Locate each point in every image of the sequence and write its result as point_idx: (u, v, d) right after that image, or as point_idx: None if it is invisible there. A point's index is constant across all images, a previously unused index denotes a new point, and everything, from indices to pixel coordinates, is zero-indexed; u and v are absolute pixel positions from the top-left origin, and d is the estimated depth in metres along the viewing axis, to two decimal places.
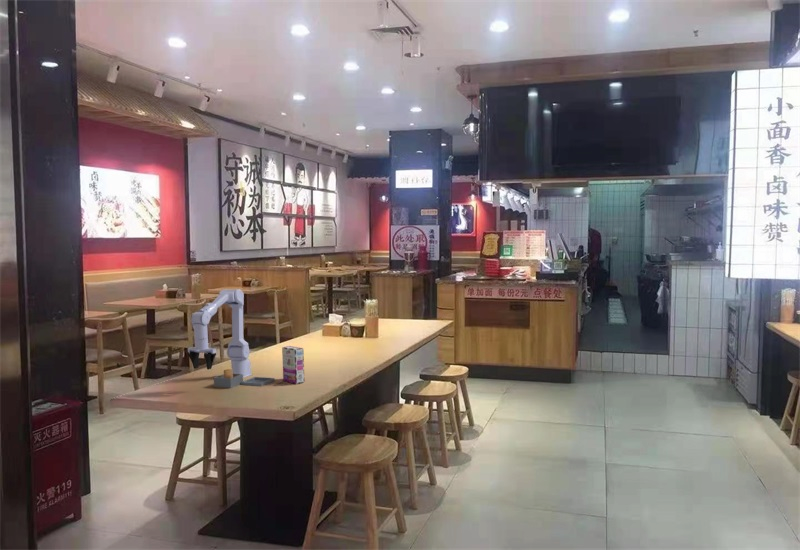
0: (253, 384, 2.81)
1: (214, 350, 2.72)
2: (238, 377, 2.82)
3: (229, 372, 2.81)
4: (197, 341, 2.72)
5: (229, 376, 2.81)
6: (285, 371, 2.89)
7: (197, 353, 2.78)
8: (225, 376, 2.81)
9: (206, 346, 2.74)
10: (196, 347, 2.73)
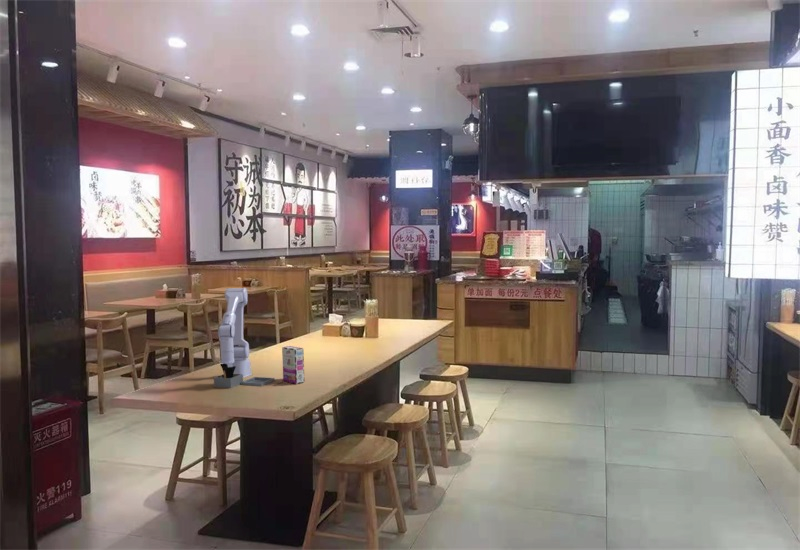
0: (253, 384, 2.81)
1: (230, 364, 2.75)
2: (238, 377, 2.82)
3: None
4: (221, 353, 2.80)
5: None
6: (285, 371, 2.89)
7: None
8: (225, 376, 2.81)
9: (228, 359, 2.79)
10: (221, 358, 2.81)
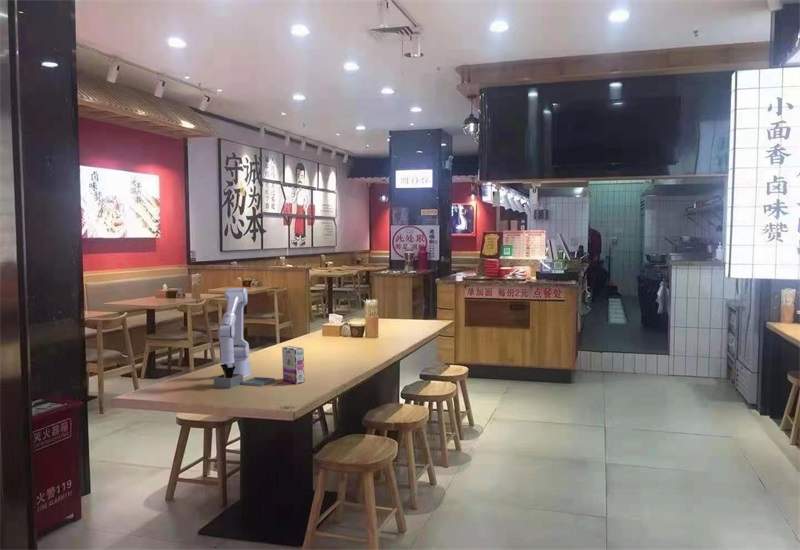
0: (253, 384, 2.81)
1: (230, 364, 2.75)
2: (238, 377, 2.82)
3: None
4: (221, 353, 2.80)
5: None
6: (285, 371, 2.89)
7: None
8: (225, 376, 2.81)
9: (228, 359, 2.79)
10: (221, 359, 2.81)
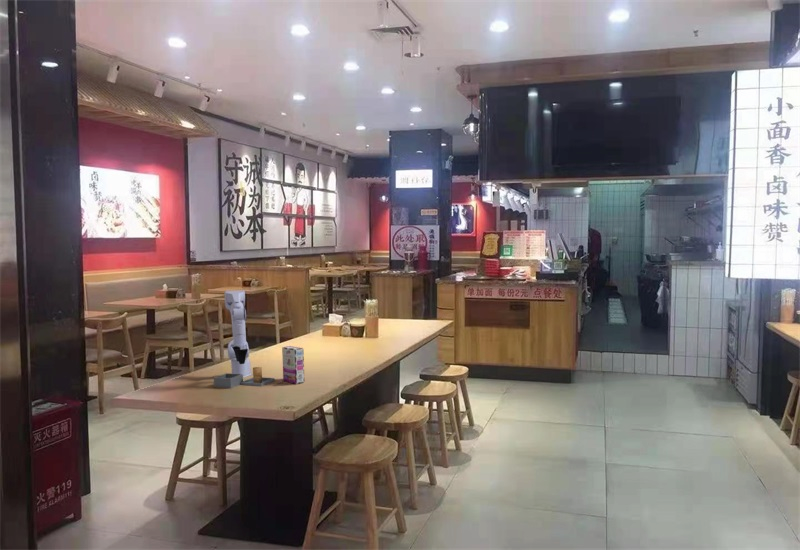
0: (253, 384, 2.81)
1: (242, 346, 2.81)
2: (238, 377, 2.82)
3: (258, 370, 2.84)
4: (233, 336, 2.86)
5: (258, 373, 2.84)
6: (285, 371, 2.89)
7: None
8: (254, 373, 2.84)
9: (240, 341, 2.85)
10: (233, 341, 2.87)
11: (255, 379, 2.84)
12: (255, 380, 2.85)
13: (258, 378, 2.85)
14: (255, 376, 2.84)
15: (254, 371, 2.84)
